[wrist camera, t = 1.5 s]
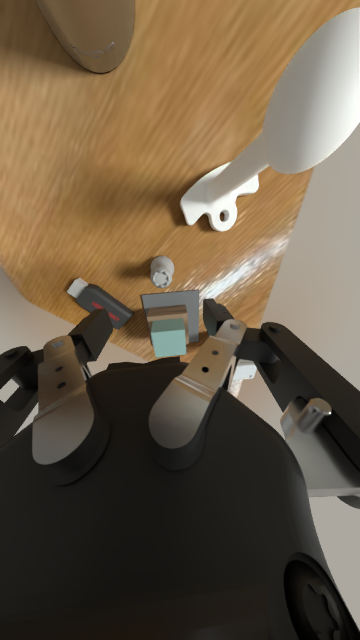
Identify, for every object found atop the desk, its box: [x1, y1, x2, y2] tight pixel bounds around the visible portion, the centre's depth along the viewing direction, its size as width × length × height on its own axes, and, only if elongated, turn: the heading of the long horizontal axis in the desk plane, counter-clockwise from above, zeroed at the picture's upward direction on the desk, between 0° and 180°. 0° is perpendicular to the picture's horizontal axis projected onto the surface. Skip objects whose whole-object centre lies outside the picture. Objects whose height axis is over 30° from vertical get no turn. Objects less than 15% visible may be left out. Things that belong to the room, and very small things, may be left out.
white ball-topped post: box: [180, 7, 360, 231], centre depth 15 cm, size 11×8×20 cm
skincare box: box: [233, 359, 257, 380], centre depth 32 cm, size 6×4×12 cm
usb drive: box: [67, 278, 134, 329], centre depth 30 cm, size 5×12×3 cm, turn 44°
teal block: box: [151, 318, 186, 357], centre depth 28 cm, size 6×6×4 cm
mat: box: [142, 290, 199, 345], centre depth 34 cm, size 14×12×1 cm
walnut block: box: [147, 305, 189, 348], centre depth 32 cm, size 8×8×4 cm
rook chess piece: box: [150, 256, 174, 288], centre depth 24 cm, size 4×4×8 cm
